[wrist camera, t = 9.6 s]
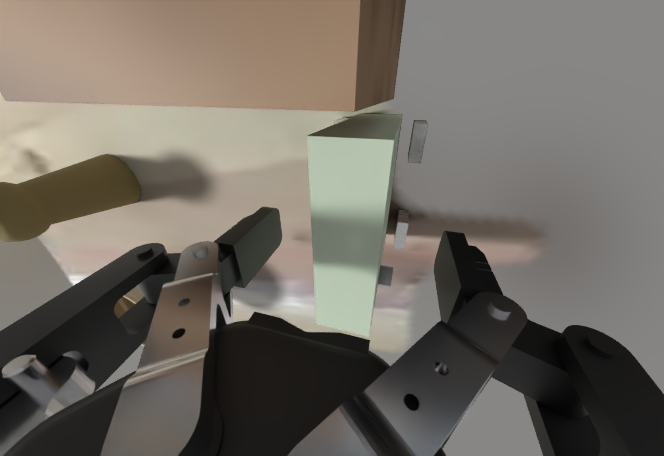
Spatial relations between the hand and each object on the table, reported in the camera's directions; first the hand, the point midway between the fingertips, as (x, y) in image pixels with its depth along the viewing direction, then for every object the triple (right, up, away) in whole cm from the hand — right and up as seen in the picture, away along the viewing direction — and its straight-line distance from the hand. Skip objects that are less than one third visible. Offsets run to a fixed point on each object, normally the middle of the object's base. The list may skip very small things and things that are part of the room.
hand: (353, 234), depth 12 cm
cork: (-27, +6, +17) cm, 32 cm away
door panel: (+3, +4, +8) cm, 10 cm away
